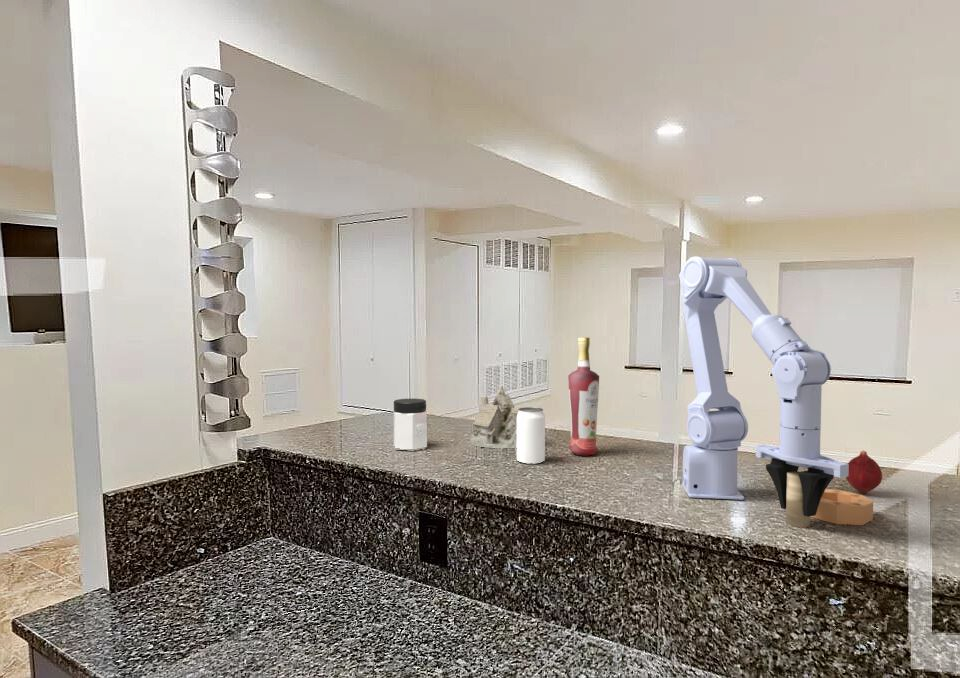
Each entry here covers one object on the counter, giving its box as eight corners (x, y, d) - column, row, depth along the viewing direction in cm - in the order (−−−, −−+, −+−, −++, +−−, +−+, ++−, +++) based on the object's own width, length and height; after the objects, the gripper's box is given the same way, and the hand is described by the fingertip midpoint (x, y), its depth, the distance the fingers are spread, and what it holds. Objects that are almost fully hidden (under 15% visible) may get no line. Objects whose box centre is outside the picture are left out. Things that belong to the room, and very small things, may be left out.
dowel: (790, 527, 92) (791, 476, 92) (782, 519, 96) (783, 471, 95) (813, 528, 92) (814, 477, 91) (805, 520, 95) (806, 472, 95)
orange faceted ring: (818, 523, 94) (818, 504, 94) (796, 504, 103) (797, 487, 103) (881, 526, 93) (881, 507, 92) (853, 507, 102) (854, 490, 102)
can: (512, 463, 133) (512, 410, 132) (521, 456, 139) (521, 406, 138) (540, 466, 130) (540, 412, 130) (548, 459, 136) (548, 407, 136)
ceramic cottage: (461, 442, 154) (464, 385, 153) (509, 437, 164) (512, 383, 163) (498, 457, 142) (502, 396, 141) (547, 450, 151) (552, 393, 150)
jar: (405, 453, 142) (405, 404, 142) (386, 448, 148) (385, 400, 147) (434, 447, 148) (434, 400, 148) (414, 442, 154) (414, 397, 154)
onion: (887, 499, 106) (888, 455, 106) (852, 497, 107) (853, 454, 107) (872, 490, 112) (874, 448, 112) (839, 488, 113) (840, 447, 113)
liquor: (584, 459, 136) (585, 338, 135) (561, 453, 142) (562, 337, 141) (605, 454, 141) (606, 337, 140) (581, 449, 146) (582, 336, 145)
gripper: (862, 432, 88) (860, 521, 89) (776, 417, 101) (774, 495, 102) (832, 436, 85) (830, 529, 86) (747, 420, 98) (746, 501, 99)
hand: (798, 511), depth 94 cm, fingers closed on dowel, 3 cm apart
